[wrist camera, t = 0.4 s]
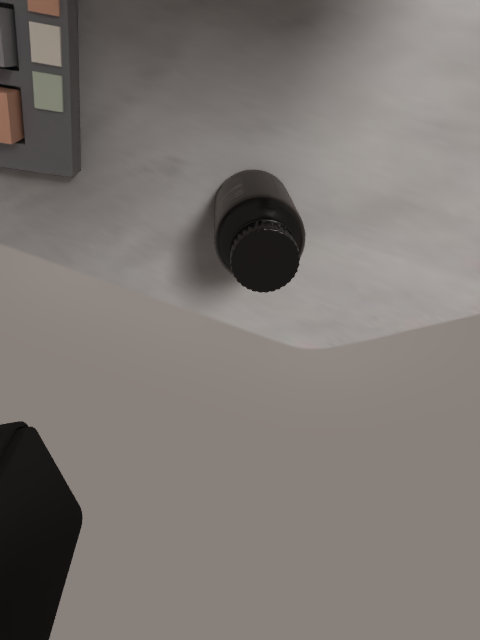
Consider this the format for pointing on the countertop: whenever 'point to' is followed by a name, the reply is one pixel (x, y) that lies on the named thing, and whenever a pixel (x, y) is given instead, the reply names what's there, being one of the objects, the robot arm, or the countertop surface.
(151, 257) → the countertop surface
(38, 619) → the robot arm
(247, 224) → the supplement bottle
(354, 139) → the countertop surface
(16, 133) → the key terracotta
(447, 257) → the countertop surface
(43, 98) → the keypad
